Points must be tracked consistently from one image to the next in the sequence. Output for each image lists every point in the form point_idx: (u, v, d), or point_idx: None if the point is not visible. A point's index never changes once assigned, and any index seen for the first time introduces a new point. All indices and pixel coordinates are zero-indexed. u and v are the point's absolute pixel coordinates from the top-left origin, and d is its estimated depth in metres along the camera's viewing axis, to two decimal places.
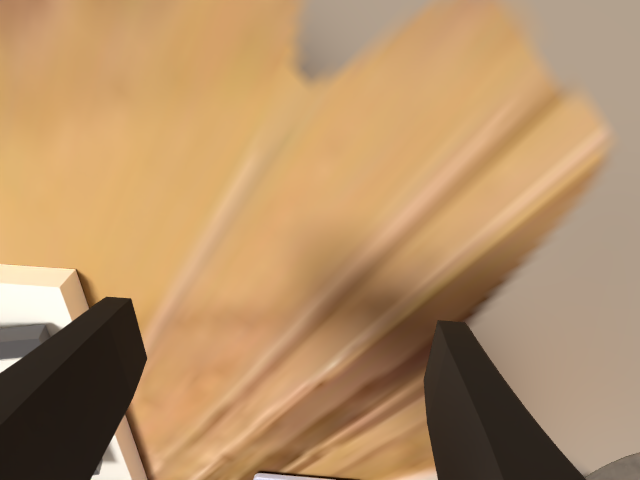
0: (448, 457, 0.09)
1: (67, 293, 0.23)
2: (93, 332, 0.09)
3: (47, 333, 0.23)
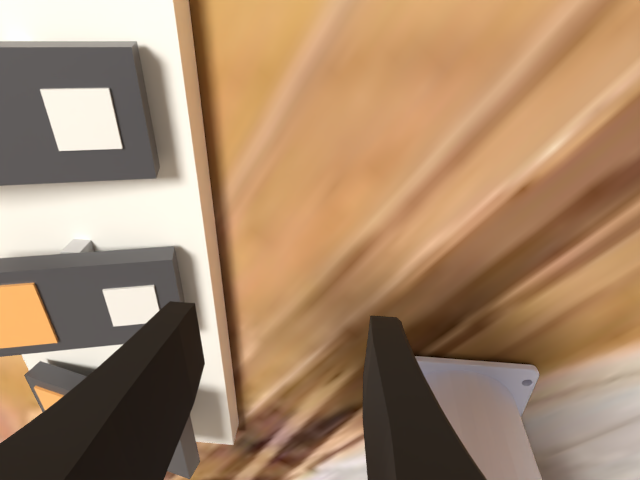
0: (372, 451, 0.09)
1: None
2: (167, 338, 0.09)
3: (139, 59, 0.15)
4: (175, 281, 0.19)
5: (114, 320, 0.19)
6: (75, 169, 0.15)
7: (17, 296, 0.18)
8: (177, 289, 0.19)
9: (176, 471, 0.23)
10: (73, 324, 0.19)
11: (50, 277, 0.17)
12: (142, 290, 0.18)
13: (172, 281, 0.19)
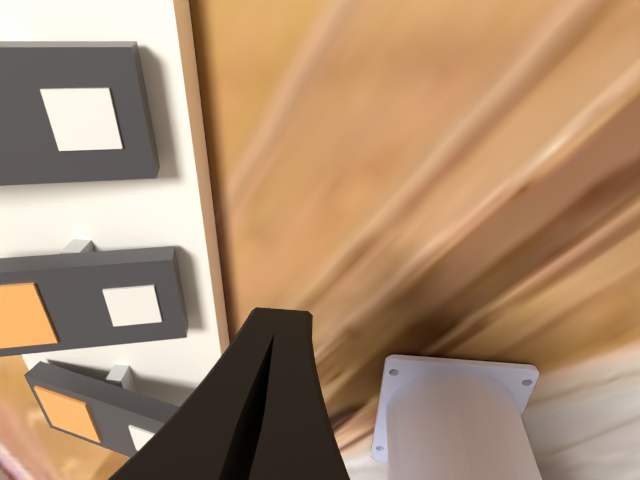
0: None
1: None
2: (267, 345, 0.09)
3: (139, 59, 0.15)
4: (175, 281, 0.19)
5: (114, 320, 0.19)
6: (75, 169, 0.15)
7: (17, 296, 0.18)
8: (177, 289, 0.19)
9: None
10: (73, 324, 0.19)
11: (50, 277, 0.17)
12: (142, 290, 0.18)
13: (172, 281, 0.19)
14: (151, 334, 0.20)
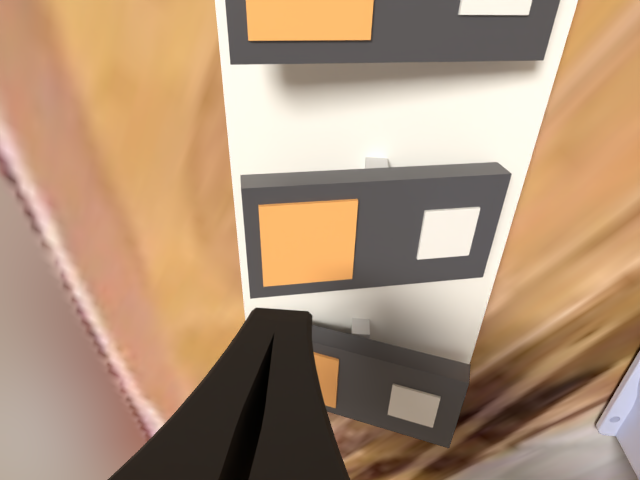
0: None
1: None
2: (267, 345, 0.09)
3: None
4: (502, 203, 0.16)
5: (419, 252, 0.16)
6: (463, 43, 0.12)
7: (335, 216, 0.15)
8: (499, 214, 0.16)
9: (432, 439, 0.20)
10: (375, 256, 0.16)
11: (376, 192, 0.14)
12: (467, 212, 0.15)
13: (499, 202, 0.16)
14: (449, 271, 0.17)
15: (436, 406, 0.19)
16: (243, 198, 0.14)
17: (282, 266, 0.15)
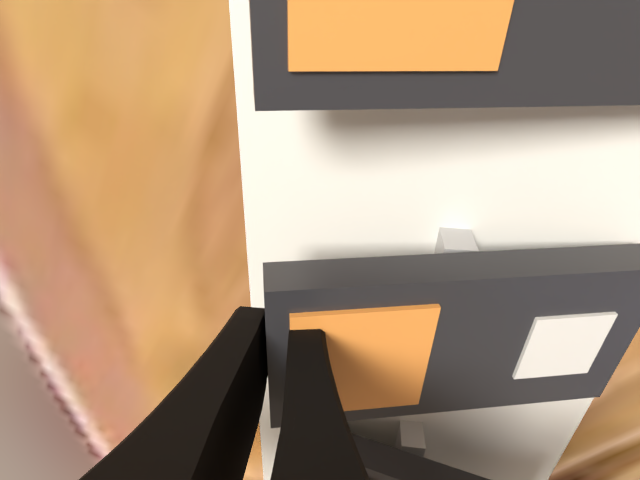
0: None
1: None
2: (249, 344, 0.09)
3: None
4: None
5: (517, 369, 0.11)
6: None
7: (404, 328, 0.10)
8: None
9: None
10: (454, 374, 0.11)
11: (469, 295, 0.10)
12: (597, 320, 0.10)
13: None
14: (554, 391, 0.12)
15: None
16: (267, 305, 0.09)
17: None
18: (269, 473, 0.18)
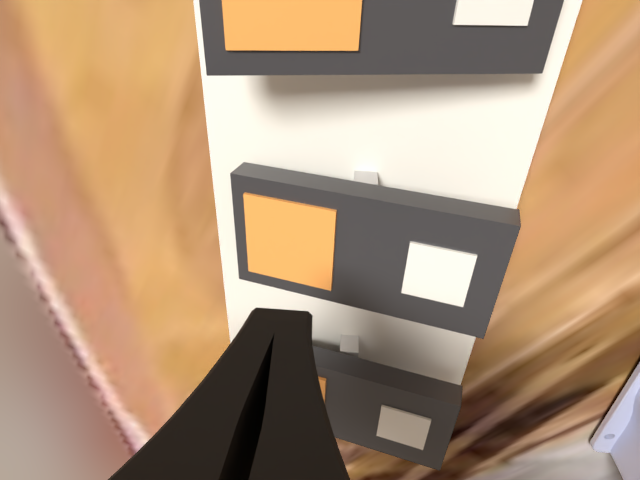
0: None
1: None
2: (267, 345, 0.09)
3: None
4: (508, 258, 0.13)
5: (404, 285, 0.15)
6: (457, 55, 0.12)
7: (313, 221, 0.14)
8: (505, 270, 0.13)
9: (422, 461, 0.19)
10: (356, 274, 0.15)
11: (357, 208, 0.14)
12: (460, 257, 0.13)
13: (504, 257, 0.13)
14: (440, 318, 0.15)
15: (427, 428, 0.18)
16: (232, 182, 0.15)
17: (264, 256, 0.16)
18: None
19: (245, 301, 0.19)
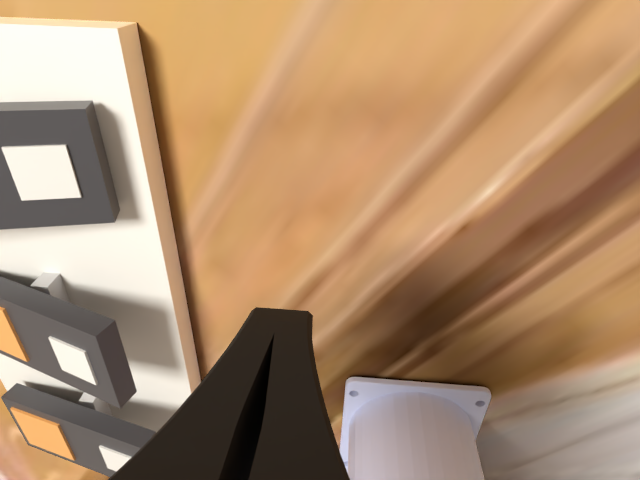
0: None
1: (126, 48, 0.15)
2: (267, 345, 0.09)
3: (95, 116, 0.16)
4: (102, 356, 0.18)
5: (63, 365, 0.20)
6: (38, 216, 0.17)
7: None
8: (105, 363, 0.18)
9: None
10: (36, 353, 0.20)
11: (14, 309, 0.19)
12: (76, 351, 0.18)
13: (99, 355, 0.18)
14: (92, 390, 0.20)
15: None
16: None
17: None
18: None
19: (5, 361, 0.24)
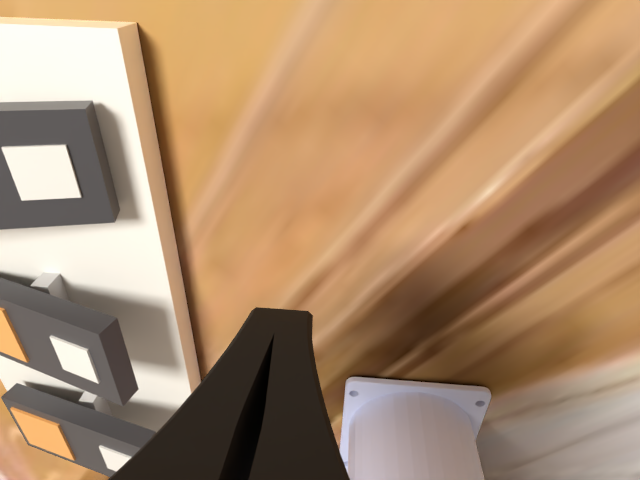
0: None
1: (126, 48, 0.15)
2: (267, 345, 0.09)
3: (95, 116, 0.16)
4: (105, 354, 0.18)
5: (64, 364, 0.20)
6: (38, 216, 0.17)
7: None
8: (108, 361, 0.18)
9: None
10: (36, 353, 0.20)
11: (14, 309, 0.19)
12: (78, 350, 0.18)
13: (102, 353, 0.18)
14: (94, 389, 0.20)
15: None
16: None
17: None
18: None
19: (5, 361, 0.24)
